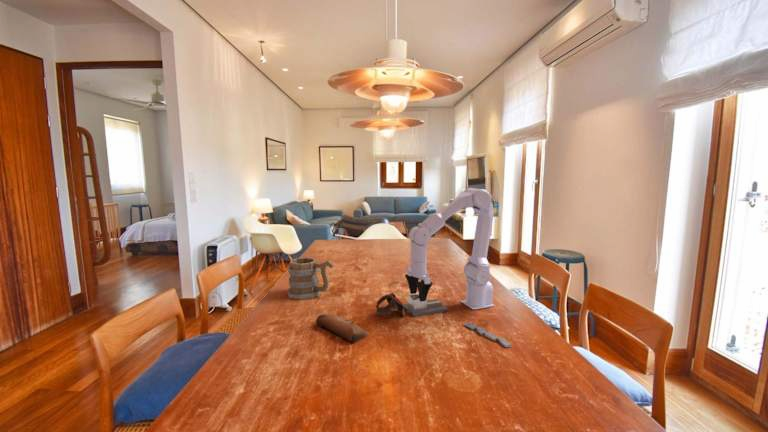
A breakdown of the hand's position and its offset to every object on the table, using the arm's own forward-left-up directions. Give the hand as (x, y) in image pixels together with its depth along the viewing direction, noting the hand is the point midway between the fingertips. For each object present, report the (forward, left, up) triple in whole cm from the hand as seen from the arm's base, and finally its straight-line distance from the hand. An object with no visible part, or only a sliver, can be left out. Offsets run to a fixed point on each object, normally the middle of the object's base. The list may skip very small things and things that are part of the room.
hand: (417, 297), depth 119 cm
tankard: (+34, -28, -5) cm, 44 cm away
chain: (-12, +24, -5) cm, 27 cm away
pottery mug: (+10, 0, -5) cm, 12 cm away
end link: (0, 0, -4) cm, 4 cm away
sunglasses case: (+29, +6, -6) cm, 30 cm away
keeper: (-3, 0, -5) cm, 6 cm away
